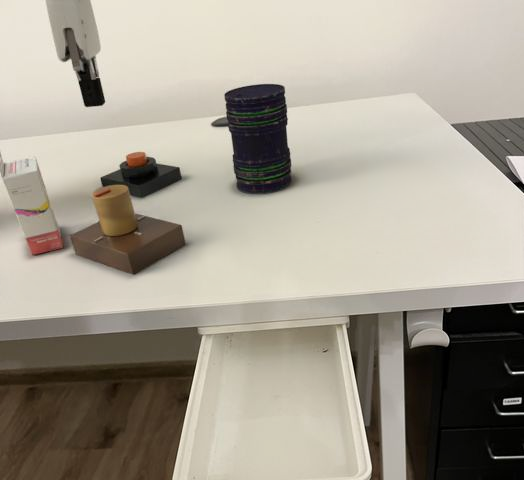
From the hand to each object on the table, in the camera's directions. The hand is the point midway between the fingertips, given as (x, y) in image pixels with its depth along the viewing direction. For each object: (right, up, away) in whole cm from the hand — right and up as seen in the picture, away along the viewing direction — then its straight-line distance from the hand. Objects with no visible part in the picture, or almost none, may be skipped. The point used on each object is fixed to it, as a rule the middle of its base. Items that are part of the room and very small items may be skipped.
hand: (95, 105), depth 92 cm
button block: (+6, -10, +11) cm, 16 cm away
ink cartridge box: (-5, -24, -7) cm, 26 cm away
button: (+5, -7, +8) cm, 12 cm away
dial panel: (+9, -26, -12) cm, 30 cm away
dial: (+8, -24, -14) cm, 28 cm away
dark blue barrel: (+28, -12, +4) cm, 31 cm away
